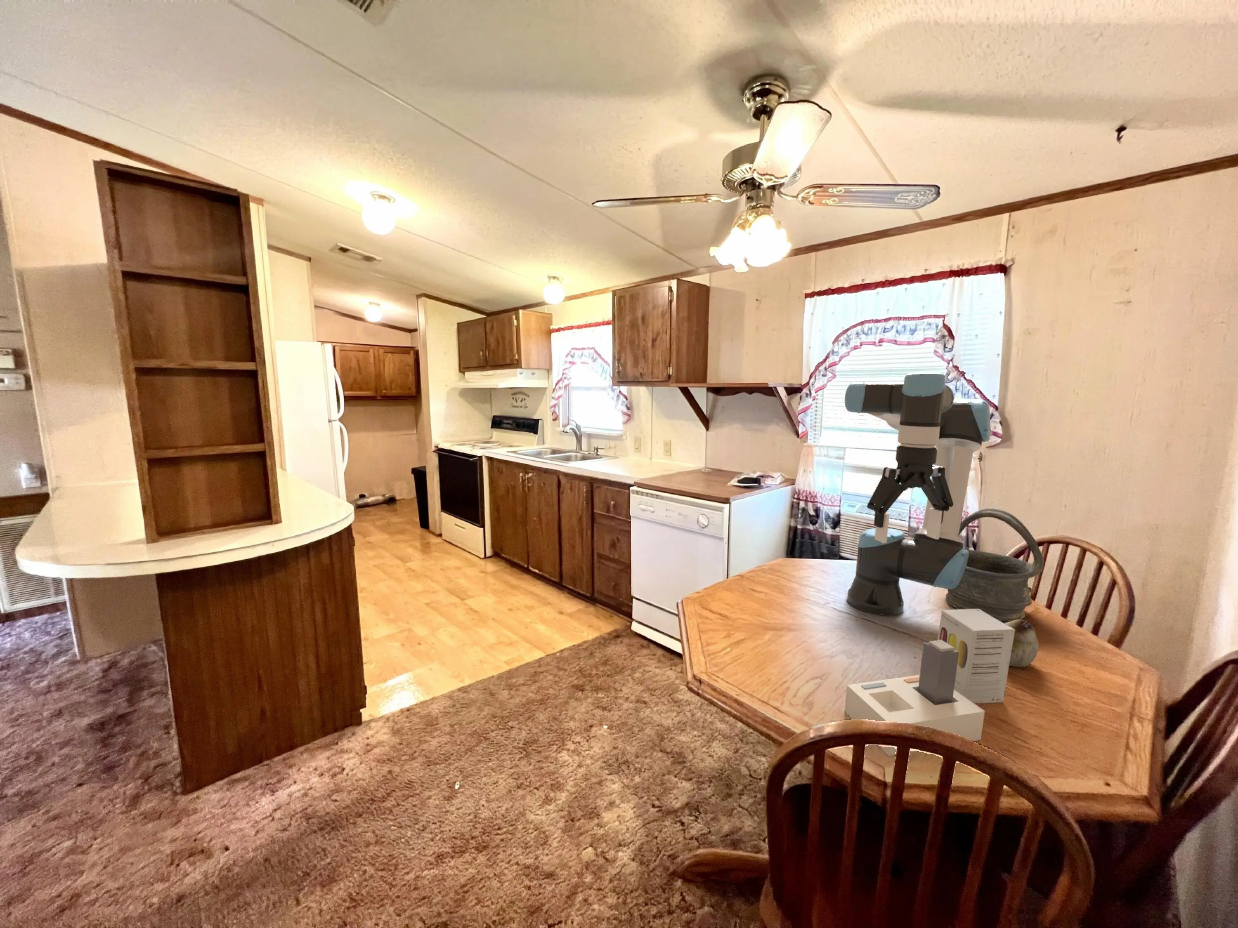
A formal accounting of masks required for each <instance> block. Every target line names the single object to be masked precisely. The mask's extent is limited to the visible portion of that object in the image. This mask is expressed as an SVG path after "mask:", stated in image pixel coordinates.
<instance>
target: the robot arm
mask: <svg viewBox="0 0 1238 928" xmlns="http://www.w3.org/2000/svg"><path fill="white" fill-rule="evenodd" d="M844 394H845V395H844V406H845V409H846V410H847V412H849V413H857V414H867V415H870V416H872V417H873V416H874V417H876V418H878V419H880V420H883V421H885V422H886V424H887V425H888V426H890V427H891V428H893V429H894V430H897V431H898V433H897V434H898V436H897V443H899V444H898V445H897V446H896V453H895V461H896V462H897V466H896V468H893V467H889V466H885V467H884V468H883V471H882V474H881V475H882V476H881V478H880V480H879V482H878V484H877V485H876V487H875V490H874V491H873V492H872V494H871V497H870V499H869V500H868V502H867V505H866V508H867V509H868V510H872V511H873V512H874V519H873V525H874V526H875V528H868V529H865V530H863V531H862V532H860V535H859V538H858V543H857V554H856V555H857V556H856V567H855V576H854V578H853V581H852V583H851V585H850V588H848V591H847V595H846V596H847V597H846V600H847V603H849V604H850V605H851V606H853V607H854V608H856V609H858V610H861V611H863V612H865V613H870V614H873V615H878V616H879V615H880V616H897V615H900V614H901V613H903V612H904V607H905V606H904V605H905V602H904V599H903V595H902V594H903V593H902V591H901V587H900V579H903V580H907V581H911V582H914V583H915V582H916V583H919V584H924V585H928V586H931V587H933V588H939V589H945V590H948V589H954V588H956V587H957V586H958V584H959V582H960V580H961V578H962V576H963V573H964V571H965V568H966V565H967V560H968V557H969V552H968V551H967V550H968V549H966V548H964V545H965V544H964V543H965V542H964V541H963V540H962V539H961V538H960V535H959V536H958V534H959V529H960V523H961V522H962V518H963V517H962V516H963V512H964V511H963V510H964V506H965V501H966V494H967V489H968V484H969V478H970V472H971V467H972V462H973V458H974V457H973V456H974V454H975V452H977V451H979V450H980V449H981V448H982V445H983V443H986V442H990V439H991V409H990V405H989V403H988V402H987V401H986V400H984V399H973V398H972V399H971V398H955V393H954V391H953V389H952V388H951V387H950V386H948V385H947V384H946V375H945V374H944V373H941V372H910V373H907V374H906V375H905V376H904V379H903V382H865V381H863V382H852V383H850V384H849V385H848V386H847V388H846V390H845V393H844ZM914 488H919V489H921V490H922V492H923V494H924V495H925V497H926V498H927V499H926V500H927V502H926V506H925V510H924V511H925V512H924V516H923V522H922V527H921V529H919V530H917V531H916V532H914V535H913V539H912V538H906V535H905V532H904V531H902V530H899V529H895V528H889V523H890V513H888V511H889V509H891V507H892V506H893V505H894V503H895V502H896V501H897V500H898V499H899V497H900V496H901V495H902V494H903V493H904V492H905V491H907V490H908V489H914Z"/></svg>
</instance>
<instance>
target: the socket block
mask: <svg viewBox="0 0 1238 928" xmlns="http://www.w3.org/2000/svg"><path fill="white" fill-rule="evenodd" d="M919 678H920V674H916V675H910V676H903V677H902V676H901V677H894V678H888V679H879V680H873V681H866V682H858V683H853V684H852V683H851V684H847V685H846V694H845V704H844V705H845V706H844V713H845V714H846V715H847V716H848V715H849V716H848V717H849V718H850V719H868V720H875V721H889V722H897V723H909V724H914V725H919V726H924V727H930V728H935V729H939V730H942V731H947V732H950V733H955V734H956V735H960V736H961V737H964V738H967V739H969V740H973V741H972V742H976V741H981V739H982V733H983V725H984V721H985V720H984V719H985V713H986V711H985V710H984V709H983V708H982V707H980V706H978V705H977V704H976V703H975V704H974V703H972V702H971V701H970V700H968V699H967V698H965V697H964V696H962V695H961V694H960V693H958V692H957V691H955V690H954V693H953V701H952V703H946V704H940V705H934V704H933V703H931V702H930V701H929V700H927V699H926V698H925V697H924V696H922V695H921V694H920V693H918V687H919ZM878 747H879V748H880V749H881V750H882V751H883V752H884V753H885V754H886V755H887V756H888V757H892V756H896V755H895V752H896V749H895V748H894V747H882V746H878ZM915 752H916V751H910V752H909V753H915Z"/></svg>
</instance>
